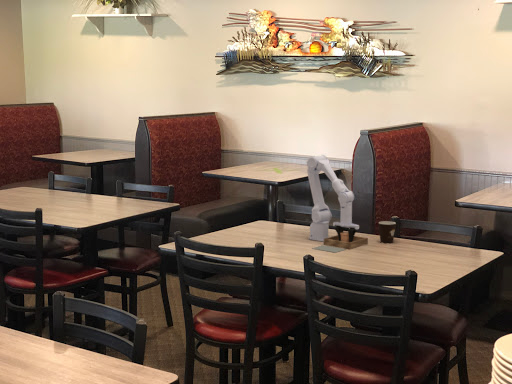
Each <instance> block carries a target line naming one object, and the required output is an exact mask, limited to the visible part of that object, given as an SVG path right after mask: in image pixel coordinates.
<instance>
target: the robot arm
mask: <svg viewBox="0 0 512 384" xmlns="http://www.w3.org/2000/svg"><path fill="white" fill-rule="evenodd" d="M306 166H307V172H306V174H307V177H308V182H309V186H310V192H311V197H312V201H313V207H312V208H311V219H312V222H311V223H310V226H309V237H308V240H311V241H312V240H313V241H317V242H324V239H325V238H329V226H330V225H329V223H330V221H331V219H332V217H333V216H332V212H331V210H330V207H329V206H328V205H327V204H326V203H325V198H324V195H323V189H322V185H321V181H320V175H319V174H321V173H320V172H321V171H322V172H323V173H324V174H325V175H326V177H327V178H328V179H329V180H330V181H331V187H332V189H333V190H334V192H335V193H336V194H337V196H338V197H337V199H338V202H339V206H340V213H339V214H340V217H339V220H340V221H333V223H332V225H333V226H332V227H334V230H335V232H336V235H338V237H339V241H341V235H340V232H345V231H344V229H345V228H346V229H347V232H348V234H349V243H350V242H353V238H354V236H356V233H357V231H358V230H359V229H360V225H359V224H356V223H353V221H352V220H353V219H352V217H353V201H354V200H355V194H354V192H353V190H349V189H348V187H347V186H346V185H345V184H344V180H342V179H341V178H338V177H337V175H336V173H335V171H334V169H333V168H332V166H331V165H330V160H329V159H328V157H327V156H326V155H325V154H321V155H312V156H311V155H310V156H309V158H308V159H307V160H306Z"/></svg>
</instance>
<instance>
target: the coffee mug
mask: <svg viewBox="0 0 512 384" xmlns="http://www.w3.org/2000/svg"><path fill="white" fill-rule="evenodd" d="M397 229H398V224H396V222H395V221H390V220H389V221H387V220H386V221H384V220H383V221H379V222H378V230H379V240H380V243H381V244H393V243H394V239H395V233H396V231H397Z"/></svg>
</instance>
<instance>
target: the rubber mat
mask: <svg viewBox="0 0 512 384" xmlns="http://www.w3.org/2000/svg"><path fill="white" fill-rule="evenodd" d="M311 249H312V250H317V251H324V252H328V253H334V254H336V253H340V252H342V251H346V250H347V249H346V248H340V247H334V246H329V245H324V244H323V245H318V246H315V247H312V248H311Z"/></svg>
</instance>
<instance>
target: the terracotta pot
mask: <svg viewBox="0 0 512 384" xmlns="http://www.w3.org/2000/svg"><path fill="white" fill-rule="evenodd" d="M340 235H341V241H343V242H349V234H348V231H343V232H340Z"/></svg>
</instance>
